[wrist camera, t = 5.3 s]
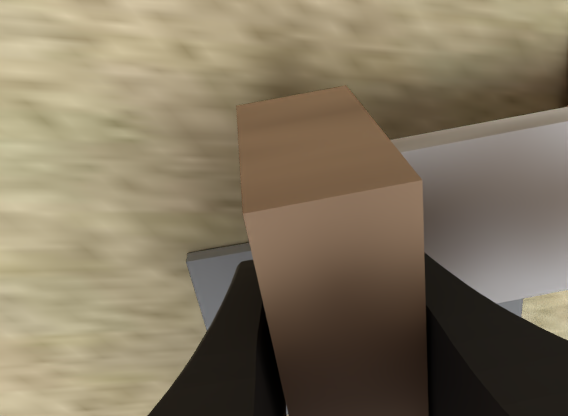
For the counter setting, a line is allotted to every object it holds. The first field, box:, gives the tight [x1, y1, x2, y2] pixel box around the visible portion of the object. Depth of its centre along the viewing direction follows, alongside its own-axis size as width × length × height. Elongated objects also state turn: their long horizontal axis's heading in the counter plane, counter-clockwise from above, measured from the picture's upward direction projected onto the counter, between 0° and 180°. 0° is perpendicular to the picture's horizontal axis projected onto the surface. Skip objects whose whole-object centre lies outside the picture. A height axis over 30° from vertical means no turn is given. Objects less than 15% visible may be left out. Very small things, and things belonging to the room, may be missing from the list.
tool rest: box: [186, 243, 523, 415], centre depth 22 cm, size 10×14×1 cm
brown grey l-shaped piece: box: [236, 85, 568, 416], centre depth 11 cm, size 8×12×5 cm, turn 99°
